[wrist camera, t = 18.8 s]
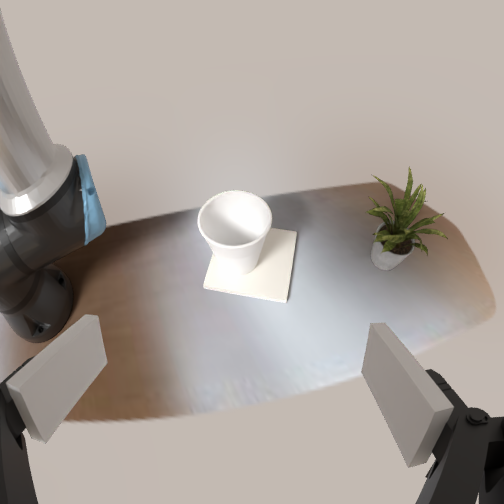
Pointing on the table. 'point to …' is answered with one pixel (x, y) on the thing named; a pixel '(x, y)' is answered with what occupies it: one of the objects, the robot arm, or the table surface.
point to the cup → (235, 229)
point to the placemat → (260, 270)
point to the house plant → (399, 228)
